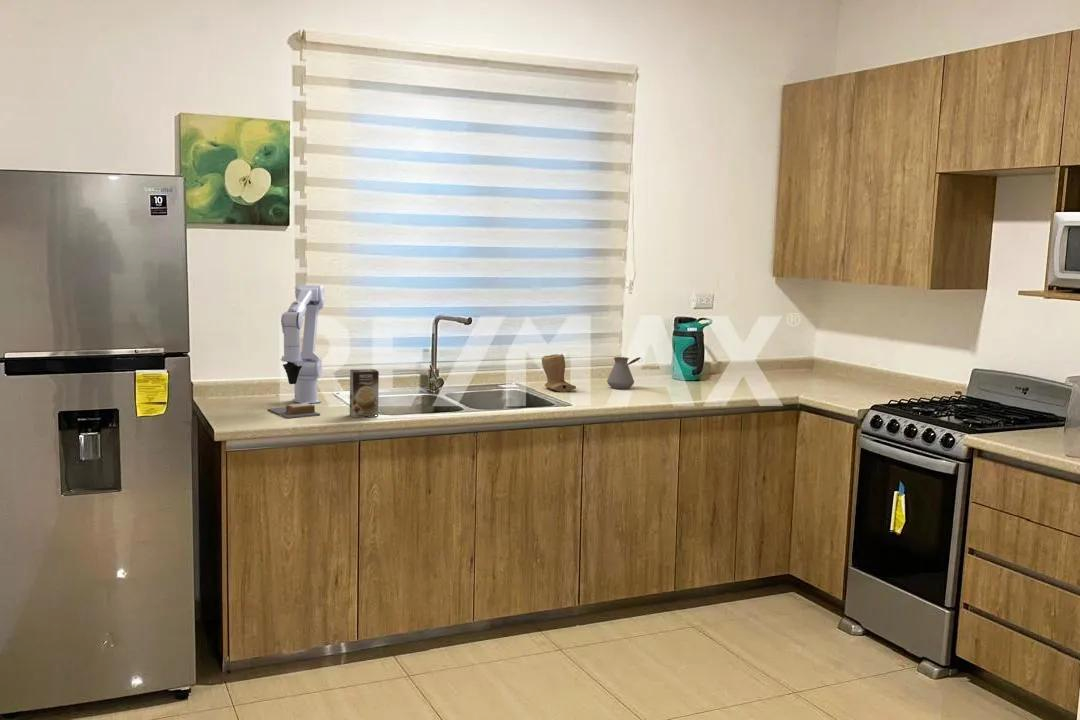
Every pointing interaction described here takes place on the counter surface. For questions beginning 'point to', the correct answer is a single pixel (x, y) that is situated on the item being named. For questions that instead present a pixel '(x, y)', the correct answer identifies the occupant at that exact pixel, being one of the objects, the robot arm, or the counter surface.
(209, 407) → the counter surface
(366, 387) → the coffee box
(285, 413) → the mat
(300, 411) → the slab
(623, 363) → the coffee pot
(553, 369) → the brown suede boot
